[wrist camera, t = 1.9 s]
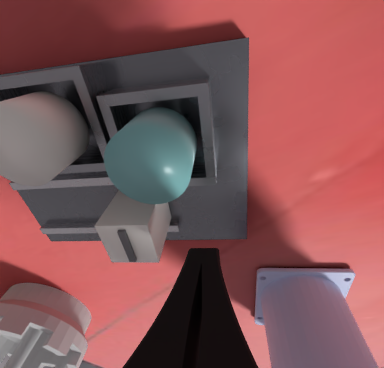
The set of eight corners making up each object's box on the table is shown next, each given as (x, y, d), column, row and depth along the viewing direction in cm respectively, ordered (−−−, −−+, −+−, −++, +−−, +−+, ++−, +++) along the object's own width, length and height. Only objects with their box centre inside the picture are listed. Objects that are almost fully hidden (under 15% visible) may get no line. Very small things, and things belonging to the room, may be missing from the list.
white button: (99, 156, 12) (70, 184, 10) (42, 161, 13) (2, 188, 10) (72, 87, 10) (28, 100, 8) (6, 95, 11) (-53, 110, 8)
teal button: (200, 171, 12) (196, 202, 10) (138, 175, 12) (119, 205, 10) (192, 103, 10) (184, 121, 8) (119, 111, 11) (90, 130, 8)
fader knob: (171, 217, 16) (158, 265, 13) (133, 218, 17) (110, 264, 13) (163, 183, 15) (146, 227, 11) (121, 185, 15) (92, 228, 12)
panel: (245, 229, 18) (249, 260, 15) (57, 233, 20) (35, 259, 18) (246, 37, 11) (254, 36, 8) (-38, 80, 13) (-97, 89, 11)
